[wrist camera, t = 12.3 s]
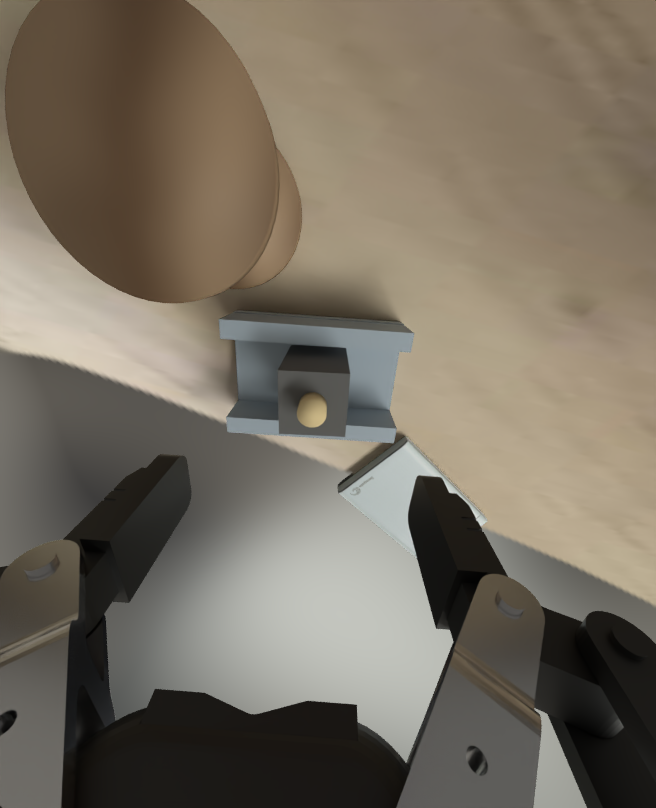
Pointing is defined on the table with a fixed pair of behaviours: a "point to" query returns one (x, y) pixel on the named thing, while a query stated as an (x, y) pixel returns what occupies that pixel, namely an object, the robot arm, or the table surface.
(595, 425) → the table surface
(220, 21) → the table surface
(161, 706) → the robot arm
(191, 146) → the bobbin
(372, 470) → the hard drive
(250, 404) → the blue-gray u-shaped channel
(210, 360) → the table surface
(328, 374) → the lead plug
